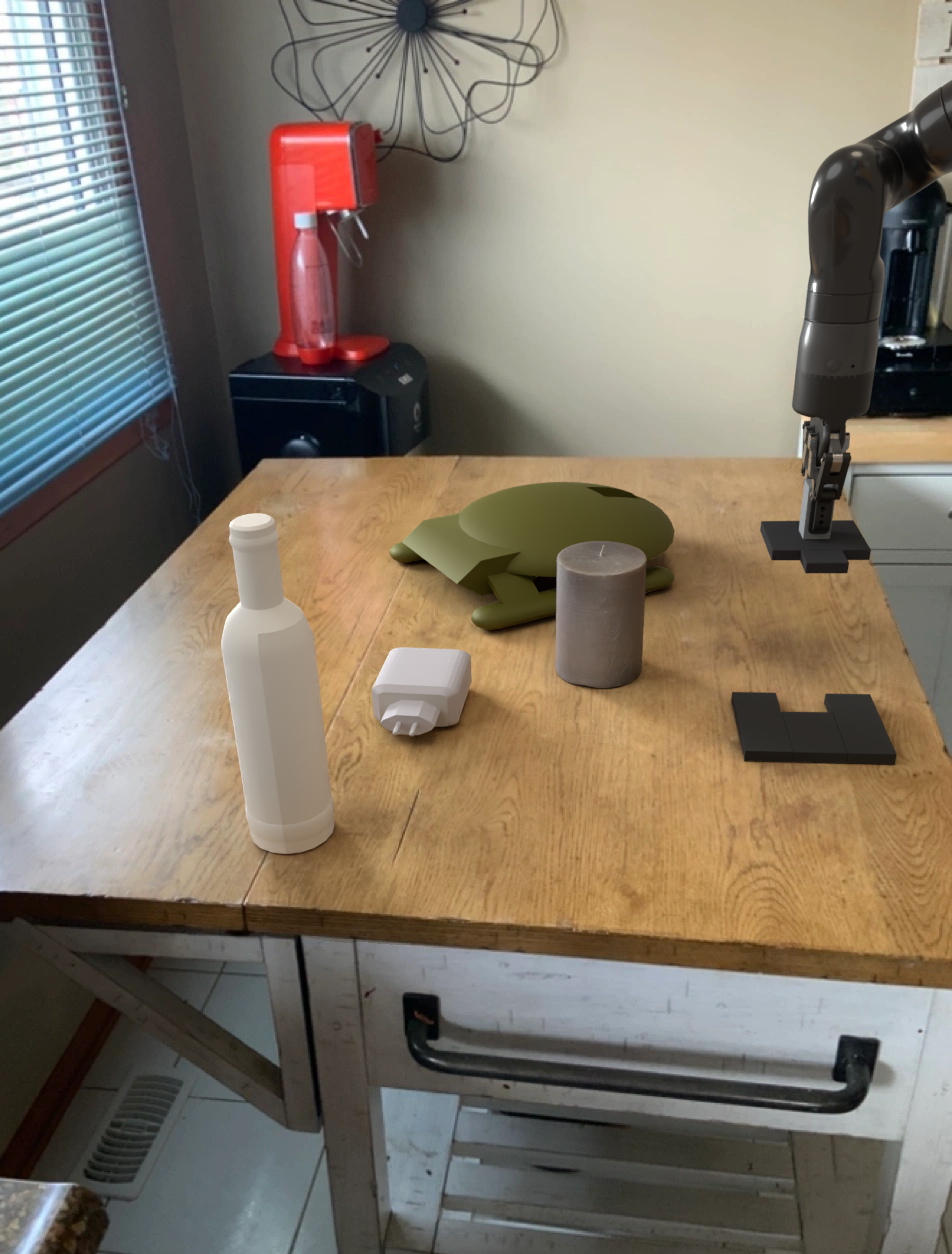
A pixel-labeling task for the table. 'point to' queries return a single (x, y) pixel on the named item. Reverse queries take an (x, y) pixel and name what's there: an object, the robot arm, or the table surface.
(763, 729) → the pad
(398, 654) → the charger
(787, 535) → the loose pad
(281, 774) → the bottle
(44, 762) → the table surface
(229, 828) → the table surface
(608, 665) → the pillar candle
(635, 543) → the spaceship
